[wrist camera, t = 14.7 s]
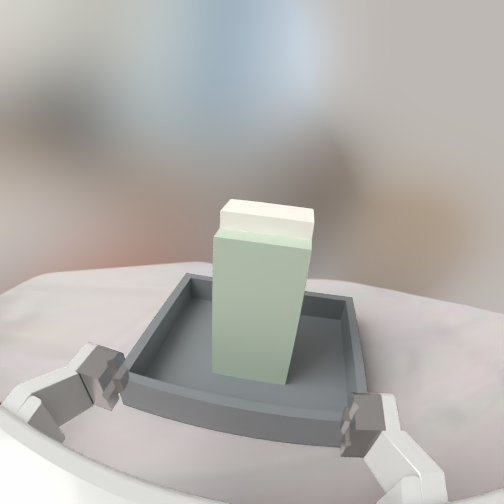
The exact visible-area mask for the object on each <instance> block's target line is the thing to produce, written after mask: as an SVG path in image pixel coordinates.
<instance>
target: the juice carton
mask: <svg viewBox="0 0 504 504" xmlns="http://www.w3.org/2000/svg"><path fill="white" fill-rule="evenodd" d="M313 228H314V211H313V209H308V208H301V207H293V206H286V205H278V204H270V203H262V202H253V201H245V200H236V199H230V201H229V202H228V203H227V204H226V205H225V206H224V207H223V209H222V210H221V211H220V229H219V230H218V231H217V233H216V234H215V235H214V241H213V285H212V373H216V374H221V375H226V376H231V377H237V378H242V379H248V380H254V381H260V382H267V383H273V384H280V385H285V383H286V379H287V374H288V370H289V365H290V361H291V356H292V352H293V347H294V342H295V337H296V333H297V328H298V323H299V318H300V313H301V307H302V302H303V297H304V292H305V286H306V281H307V275H308V269H309V264H310V258H311V252H312V235H313Z"/></svg>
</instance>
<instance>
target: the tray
mask: <svg viewBox="0 0 504 504" xmlns="http://www.w3.org/2000/svg"><path fill="white" fill-rule="evenodd" d="M212 285H213V277H207V276H201V275H195V274H189V273H186V274H185V276H184V277H183V278H182V280H181V281H180V283H179V284H178V285H177V287H176V288H175V289H174V291H173V292H172V294H171V295H170V296H169V298H168V299H167V301H166V302H165V303H164V305H163V306H162V308H161V309H160V310H159V312H158V313H157V315H156V316H155V317H154V319H153V320H152V322H151V323H150V324H149V326H148V327H147V329H146V330H145V332H144V333H143V334H142V336H141V337H140V339H139V340H138V342H137V343H136V344H135V346H134V347H133V349H132V350H131V352H130V353H129V355H128V356H127V358H126V359H125V361H124V364H125V366H126V367H127V368H128V371H129V381H128V384H127V386H126V388H125V390H124V391H122V392H120V395H121V398H122V401H123V404H124V405H127V406H130V407H133V408H136V409H139V410H142V411H145V412H148V413H152V414H155V415H158V416H161V417H165V418H168V419H172V420H175V421H179V422H183V423H187V424H191V425H195V426H199V427H203V428H207V429H212V430H216V431H221V432H225V433H230V434H236V435H241V436H246V437H252V438H258V439H265V440H272V441H279V442H287V443H295V444H305V445H316V446H330V447H340V441H341V439H342V437H343V433H342V432H341V431H340V424H341V417H342V412H343V410H344V407H345V406H346V405H348V398H349V395H350V394H351V392H367V384H366V377H365V369H364V363H363V356H362V349H361V343H360V337H359V331H358V325H357V320H356V314H355V309H354V304H353V298H352V297H345V296H337V295H329V294H322V293H315V292H307V291H305V292H304V297H303V302H302V307H301V313H300V318H299V323H298V328H297V333H296V337H295V342H294V347H293V352H292V356H291V361H290V365H289V370H288V374H287V379H286V383H285V385H280V384H273V383H267V382H260V381H254V380H248V379H242V378H237V377H231V376H226V375H221V374H216V373H212ZM367 393H368V392H367Z"/></svg>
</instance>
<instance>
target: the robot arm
mask: <svg viewBox="0 0 504 504" xmlns="http://www.w3.org/2000/svg"><path fill="white" fill-rule="evenodd" d="M124 361H125V357H124V354H123V353H121V352H118V351H115V350H112V349H109V348H106V347H103V346H100V345H97V344H94V343H91V342H88V343H86V344H85V345H84V346H83V347H82V349H81V350H80V351H79V352H78V353H77V354H76V356H75V357H74V358H73V359H72V360H71V362H70V363H69V364H68V365H67V366H66V368H65V367H61V368H58V369H56V370H53V371H51V372H48V373H46V374H43V375H41V376H38V377H36V378H34V379H31V380H29V381H26V382H23V383H21V384H18V385H17V386H16V387H15V388H14V389H13V390H12V392H11V393H10V394H9V395H8V396H7V398H6V399H5V400H4V401H3V402H2V404H1V405H0V504H233V503H228V502H223V501H218V500H214V499H209V498H205V497H201V496H197V495H193V494H189V493H185V492H182V491H178V490H175V489H171V488H168V487H165V486H161V485H158V484H155V483H152V482H149V481H146V480H144V479H141V478H138V477H135V476H133V475H130V474H127V473H125V472H122V471H120V470H117V469H115V468H112V467H110V466H108V465H105V464H103V463H101V462H99V461H96V460H94V459H92V458H90V457H88V456H86V455H83V454H81V453H79V452H77V451H75V450H73V449H71V448H69V447H68V446H66V445H64V444H62V442H63V441H64V439H65V437H64V434H63V433H62V431H61V430H60V428H59V426H61V425H62V424H64V423H66V422H67V421H69V420H71V419H72V418H74V417H76V416H77V415H79V414H81V413H82V412H84V411H85V410H87V409H89V408H90V407H92V406H93V405H96V406H99V407H102V408H104V409H107V410H110V411H112V409H113V408H114V406H115V405H116V403H117V401H118V400H119V396H118V393H120V392H122V391H124V390H125V388H126V386H127V384H128V381H129V371H128V368H127V367H126V366H125V364H124ZM340 431H341V432H342V433H343V437H342V439H341V441H340V457H360V458H363V459H364V460H365V462H366V463H367V465H368V467H369V468H370V470H371V471H372V473H373V474H374V476H375V477H376V479H377V480H378V482H379V483H380V485H381V486H382V488H383V489H384V491H385V493H386V494H385V495H384V496H383V497H382V498H381V499H380V500H379V501H378V502H377V503H375V504H504V487H503V488H500V489H497V490H494V491H490V492H487V493H484V494H480V495H476V496H473V497H469V498H465V499H461V500H456V501H452V502H448V497H447V490H446V483H445V477H444V472H443V470H442V469H441V468H440V467H439V466H438V465H437V464H436V463H435V462H434V461H433V460H432V459H431V458H430V457H429V456H428V454H427V453H426V452H425V451H424V450H423V449H422V448H421V447H420V446H419V445H418V444H417V443H416V442H415V441H414V440H413V438H412V437H411V436H410V435H409V434H408V433H407V432H406V431H405V430H401V426H400V421H399V415H398V409H397V404H396V399H395V395H394V394H393V393H367V392H351V394H350V395H349V398H348V405H346V406H345V407H344V410H343V412H342V417H341V424H340Z"/></svg>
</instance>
